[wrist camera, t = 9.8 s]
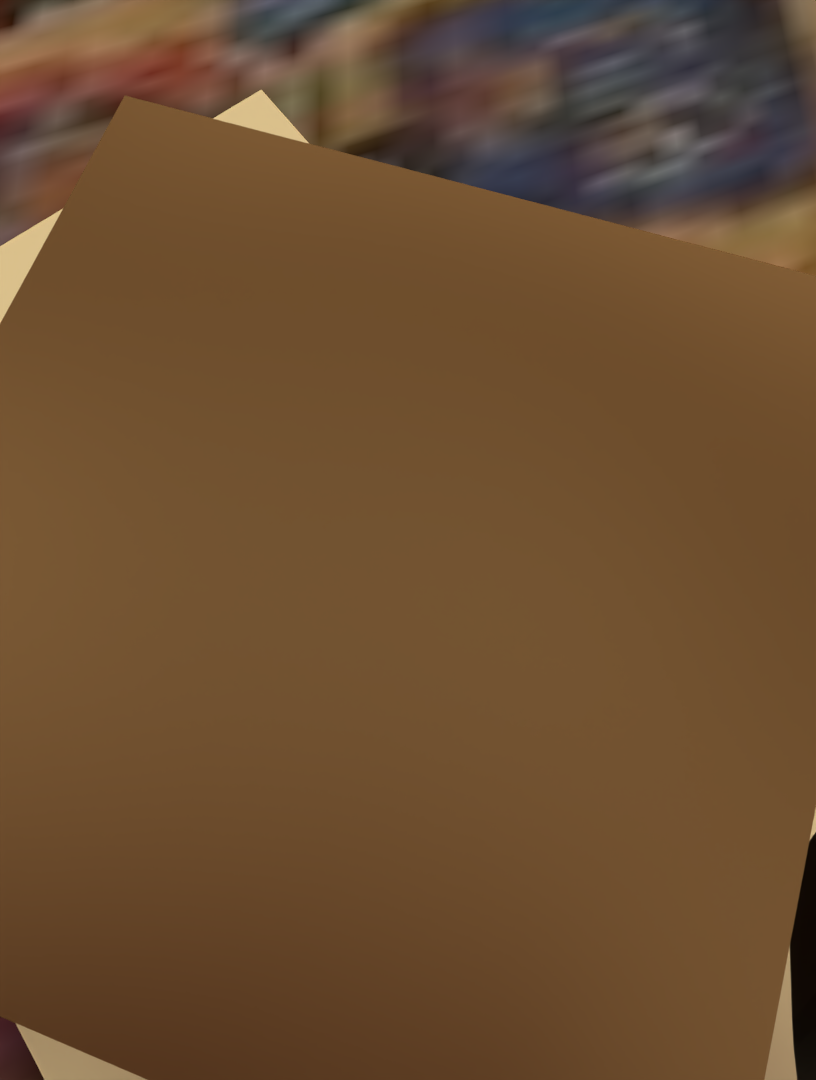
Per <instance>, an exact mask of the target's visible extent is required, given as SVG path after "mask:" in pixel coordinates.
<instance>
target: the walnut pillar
mask: <svg viewBox="0 0 816 1080" xmlns="http://www.w3.org/2000/svg"><path fill="white" fill-rule="evenodd" d="M815 809H816V276H814V275H811V274H807V273H803V272H799V271H795V270H791V269H788V268H784V267H780V266H776V265H772V264H768V263H765V262H761V261H757V260H753V259H749V258H745V257H742V256H738V255H734V254H730V253H726V252H722V251H719V250H715V249H711V248H707V247H703V246H699V245H696V244H692V243H688V242H684V241H680V240H676V239H673V238H669V237H665V236H661V235H657V234H653V233H650V232H646V231H642V230H638V229H634V228H630V227H627V226H623V225H619V224H615V223H611V222H607V221H604V220H600V219H596V218H592V217H588V216H584V215H581V214H577V213H573V212H569V211H565V210H561V209H558V208H554V207H550V206H546V205H542V204H538V203H535V202H531V201H527V200H523V199H519V198H515V197H512V196H508V195H504V194H500V193H496V192H492V191H489V190H485V189H481V188H477V187H473V186H469V185H466V184H462V183H458V182H454V181H450V180H446V179H443V178H439V177H435V176H431V175H427V174H423V173H420V172H416V171H412V170H408V169H404V168H400V167H397V166H393V165H389V164H385V163H381V162H377V161H374V160H370V159H366V158H362V157H358V156H354V155H350V154H347V153H343V152H339V151H335V150H331V149H327V148H324V147H320V146H316V145H312V144H308V143H304V142H301V141H297V140H293V139H289V138H285V137H281V136H278V135H274V134H270V133H266V132H262V131H258V130H255V129H251V128H247V127H243V126H239V125H235V124H232V123H228V122H224V121H220V120H216V119H212V118H209V117H205V116H201V115H197V114H193V113H189V112H186V111H182V110H178V109H174V108H170V107H166V106H163V105H159V104H155V103H151V102H147V101H143V100H140V99H136V98H132V97H128V96H124V98H123V100H122V102H121V104H120V106H119V107H118V109H117V111H116V113H115V115H114V116H113V118H112V120H111V122H110V124H109V126H108V127H107V129H106V131H105V133H104V135H103V137H102V138H101V140H100V142H99V144H98V146H97V148H96V149H95V151H94V153H93V155H92V157H91V159H90V160H89V162H88V164H87V166H86V168H85V169H84V171H83V173H82V175H81V177H80V179H79V180H78V182H77V184H76V186H75V188H74V190H73V191H72V193H71V195H70V197H69V199H68V201H67V202H66V204H65V206H64V208H63V210H62V211H61V213H60V215H59V217H58V219H57V221H56V222H55V224H54V226H53V228H52V230H51V232H50V233H49V235H48V237H47V239H46V241H45V243H44V244H43V246H42V248H41V250H40V252H39V253H38V255H37V257H36V259H35V261H34V263H33V264H32V266H31V268H30V270H29V272H28V274H27V275H26V277H25V279H24V281H23V283H22V285H21V286H20V288H19V290H18V292H17V294H16V295H15V297H14V299H13V301H12V303H11V305H10V306H9V308H8V310H7V312H6V314H5V316H4V317H3V319H2V321H1V323H0V1017H3V1018H5V1019H7V1020H10V1021H12V1022H14V1023H17V1024H19V1025H21V1026H24V1027H26V1028H28V1029H31V1030H33V1031H35V1032H38V1033H40V1034H42V1035H44V1036H47V1037H49V1038H51V1039H54V1040H56V1041H58V1042H61V1043H63V1044H65V1045H68V1046H70V1047H72V1048H75V1049H77V1050H79V1051H82V1052H84V1053H86V1054H89V1055H91V1056H93V1057H96V1058H98V1059H100V1060H103V1061H105V1062H107V1063H110V1064H112V1065H114V1066H117V1067H119V1068H121V1069H124V1070H126V1071H128V1072H131V1073H133V1074H135V1075H138V1076H140V1077H142V1078H145V1079H147V1080H764V1079H765V1073H766V1068H767V1063H768V1058H769V1052H770V1047H771V1042H772V1036H773V1031H774V1026H775V1021H776V1015H777V1010H778V1005H779V999H780V994H781V989H782V983H783V978H784V973H785V968H786V962H787V957H788V952H789V946H790V941H791V936H792V931H793V925H794V920H795V915H796V909H797V904H798V899H799V893H800V888H801V883H802V878H803V872H804V867H805V862H806V856H807V851H808V846H809V841H810V835H811V830H812V825H813V819H814V814H815Z"/></svg>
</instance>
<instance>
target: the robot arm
mask: <svg viewBox="0 0 816 1080" xmlns="http://www.w3.org/2000/svg"><path fill="white" fill-rule="evenodd" d="M790 973H791V1007H792V1030H793V1047H794V1056H795V1065H796V1074H797V1080H816V832H815V834H814V835H813V836H812V838H811V839H810V841H809V846H808V851H807V856H806V862H805V867H804V872H803V878H802V883H801V888H800V893H799V899H798V904H797V909H796V915H795V920H794V925H793V931H792V936H791V941H790Z"/></svg>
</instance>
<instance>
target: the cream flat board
mask: <svg viewBox="0 0 816 1080" xmlns="http://www.w3.org/2000/svg"><path fill="white" fill-rule="evenodd" d="M213 119H216V120H220V121H224V122H228V123H232V124H235V125H239V126H243V127H247V128H251V129H255V130H258V131H262V132H266V133H270V134H274V135H278V136H281V137H285V138H289V139H293V140H297V141H301V142H304V143H308V142H307V141H306V140H305V139H304V137H303V136H302V135H301V134H300V133H299V132H298V131H297V129H296V128H295V127H294V126H293V125H292V124H291V123H290V122H289V120H288V119H287V118H286V117H285V116H284V115H283V114H282V112H281V111H280V110H279V109H278V108H277V107H276V106H275V105H274V103H273V102H272V101H271V100H270V99H269V98H268V97H267V95H266V94H265V93H264V92H263V91H262V90H260V91H258V92H256V93H255V94H253V95H251V96H250V97H248V98H246V99H245V100H243V101H241V102H240V103H238V104H236V105H235V106H233V107H232V108H230V109H228V110H227V111H225V112H223V113H222V114H220V115H218V116H217V117H215V118H213ZM308 144H309V143H308ZM62 210H63V209H62ZM62 210H60V211H58V212H57V213H55V214H53V215H52V216H50V217H48V218H47V219H45V220H43V221H42V222H40V223H38V224H37V225H35V226H33V227H32V228H30V229H28V230H27V231H25V232H23V233H22V234H20V235H18V236H17V237H15V238H13V239H12V240H10V241H8V242H7V243H5V244H3V245H2V246H0V323H1V321H2V319H3V317H4V316H5V314H6V312H7V310H8V308H9V306H10V305H11V303H12V301H13V299H14V297H15V295H16V294H17V292H18V290H19V288H20V286H21V285H22V283H23V281H24V279H25V277H26V275H27V274H28V272H29V270H30V268H31V266H32V264H33V263H34V261H35V259H36V257H37V255H38V253H39V252H40V250H41V248H42V246H43V244H44V243H45V241H46V239H47V237H48V235H49V233H50V232H51V230H52V228H53V226H54V224H55V222H56V221H57V219H58V217H59V215H60V213H61V211H62ZM815 832H816V809H815V814H814V819H813V825H812V830H811V835H810V839H811V838H812V836H813V835H814V834H815ZM16 1025H17V1027H18V1029H19V1031H20V1033H21V1035H22V1037H23V1039H24V1041H25V1043H26V1045H27V1047H28V1049H29V1051H30V1052H31V1054H32V1056H33V1058H34V1060H35V1062H36V1064H37V1066H38V1068H39V1070H40V1072H41V1074H42V1076H43V1078H44V1080H147V1079H145V1078H142V1077H140V1076H138V1075H135V1074H133V1073H131V1072H128V1071H126V1070H124V1069H121V1068H119V1067H117V1066H114V1065H112V1064H110V1063H107V1062H105V1061H103V1060H100V1059H98V1058H96V1057H93V1056H91V1055H89V1054H86V1053H84V1052H82V1051H79V1050H77V1049H75V1048H72V1047H70V1046H68V1045H65V1044H63V1043H61V1042H58V1041H56V1040H54V1039H51V1038H49V1037H47V1036H44V1035H42V1034H40V1033H38V1032H35V1031H33V1030H31V1029H28V1028H26V1027H24V1026H21V1025H19V1024H17V1023H16ZM764 1080H797V1074H796V1065H795V1056H794V1047H793V1030H792V1007H791V973H790V946H789V952H788V957H787V962H786V968H785V973H784V978H783V983H782V989H781V994H780V999H779V1005H778V1010H777V1015H776V1021H775V1026H774V1031H773V1036H772V1042H771V1047H770V1052H769V1058H768V1063H767V1068H766V1073H765V1079H764Z"/></svg>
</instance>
